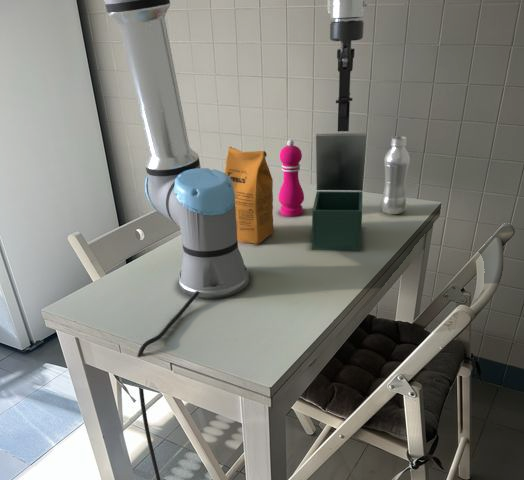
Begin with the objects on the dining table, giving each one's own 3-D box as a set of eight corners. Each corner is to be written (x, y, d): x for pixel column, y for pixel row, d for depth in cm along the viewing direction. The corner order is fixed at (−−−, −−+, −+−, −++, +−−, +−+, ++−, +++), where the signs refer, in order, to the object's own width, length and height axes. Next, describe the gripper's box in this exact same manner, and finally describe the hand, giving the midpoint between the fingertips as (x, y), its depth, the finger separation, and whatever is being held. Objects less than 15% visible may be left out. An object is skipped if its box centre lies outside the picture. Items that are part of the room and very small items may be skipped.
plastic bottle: (406, 216, 146) (415, 140, 134) (382, 217, 146) (388, 141, 135) (402, 208, 151) (410, 134, 140) (378, 209, 151) (384, 135, 140)
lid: (366, 135, 122) (366, 133, 122) (315, 135, 123) (316, 133, 124) (362, 190, 134) (362, 188, 134) (316, 190, 136) (316, 188, 136)
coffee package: (242, 225, 145) (237, 141, 133) (279, 234, 139) (277, 147, 126) (218, 237, 139) (210, 150, 126) (256, 247, 132) (251, 156, 120)
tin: (359, 250, 128) (362, 211, 123) (311, 249, 130) (312, 210, 124) (360, 228, 140) (362, 191, 134) (316, 227, 142) (316, 191, 136)
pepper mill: (300, 218, 148) (299, 143, 137) (275, 216, 150) (273, 142, 139) (306, 209, 154) (307, 136, 142) (283, 207, 156) (281, 136, 145)
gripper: (363, 20, 113) (358, 136, 127) (363, 17, 124) (358, 124, 137) (328, 22, 115) (326, 137, 128) (331, 19, 125) (329, 125, 138)
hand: (343, 130), depth 133 cm, fingers closed
